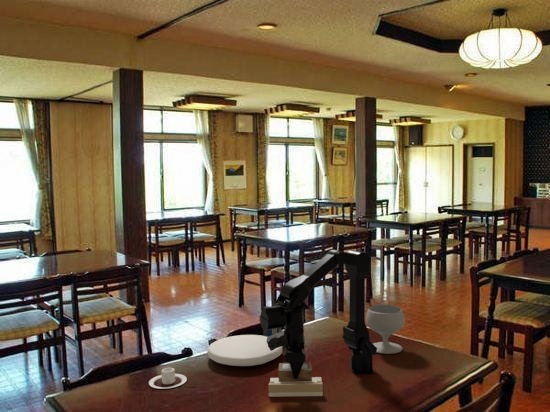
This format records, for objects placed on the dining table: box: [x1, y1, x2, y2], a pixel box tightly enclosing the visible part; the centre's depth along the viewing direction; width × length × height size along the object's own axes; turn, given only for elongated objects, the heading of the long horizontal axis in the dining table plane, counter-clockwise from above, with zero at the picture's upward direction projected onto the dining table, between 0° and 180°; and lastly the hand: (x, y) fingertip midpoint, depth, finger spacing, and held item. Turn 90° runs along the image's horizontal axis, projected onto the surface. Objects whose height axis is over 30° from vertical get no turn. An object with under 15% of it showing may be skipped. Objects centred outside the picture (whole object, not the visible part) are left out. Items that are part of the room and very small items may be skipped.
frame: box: [278, 362, 313, 382], centre depth 162 cm, size 10×6×4 cm, turn 88°
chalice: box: [365, 304, 406, 355], centre depth 193 cm, size 14×14×15 cm
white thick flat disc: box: [207, 334, 283, 367], centre depth 190 cm, size 28×6×27 cm
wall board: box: [267, 376, 324, 398], centre depth 162 cm, size 16×11×4 cm
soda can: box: [263, 328, 282, 337], centre depth 208 cm, size 7×7×12 cm
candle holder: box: [148, 367, 188, 390], centre depth 170 cm, size 12×12×4 cm
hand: (295, 374), depth 163 cm, fingers closed on frame, 6 cm apart
